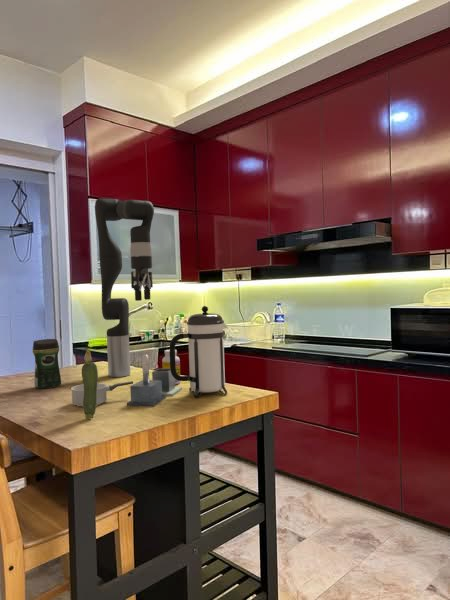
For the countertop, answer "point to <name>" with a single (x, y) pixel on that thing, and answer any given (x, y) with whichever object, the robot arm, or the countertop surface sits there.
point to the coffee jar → (46, 363)
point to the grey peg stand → (146, 389)
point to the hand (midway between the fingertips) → (143, 300)
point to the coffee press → (203, 353)
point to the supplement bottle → (167, 363)
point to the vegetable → (89, 385)
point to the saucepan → (101, 392)
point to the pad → (172, 391)
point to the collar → (164, 379)
